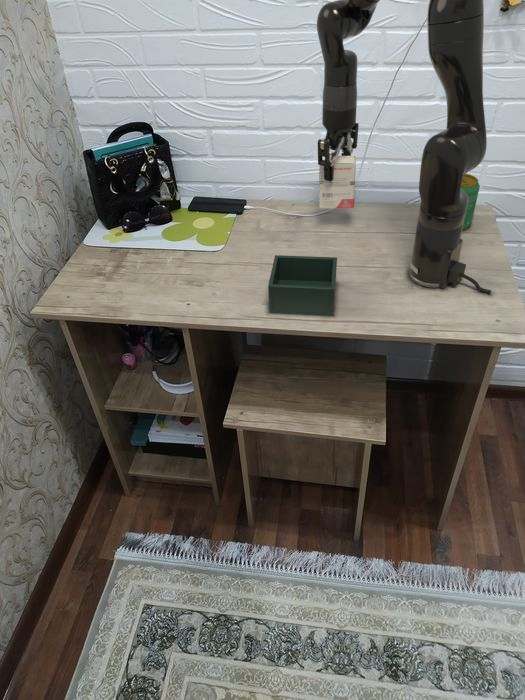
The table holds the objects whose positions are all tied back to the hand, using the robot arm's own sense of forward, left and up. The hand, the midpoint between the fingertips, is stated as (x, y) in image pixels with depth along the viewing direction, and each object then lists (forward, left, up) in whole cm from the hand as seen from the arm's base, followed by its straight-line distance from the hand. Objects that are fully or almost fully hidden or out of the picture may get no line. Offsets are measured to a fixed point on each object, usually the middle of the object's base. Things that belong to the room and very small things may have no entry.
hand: (337, 174), depth 137 cm
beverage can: (-25, -17, -14) cm, 33 cm away
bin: (-11, +30, -14) cm, 35 cm away
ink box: (0, 0, -8) cm, 8 cm away
